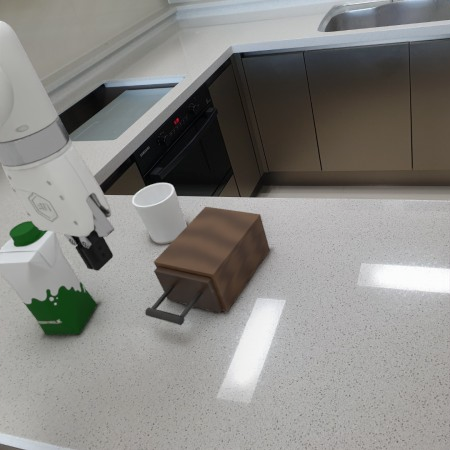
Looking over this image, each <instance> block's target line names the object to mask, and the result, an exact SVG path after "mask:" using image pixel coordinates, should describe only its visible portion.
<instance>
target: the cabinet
mask: <svg viewBox="0 0 450 450" xmlns="http://www.w3.org/2000/svg"><path fill="white" fill-rule="evenodd" d="M270 251H271V249H270V246H269V242H268V238H267V234H266V231H265V227H264V223H263V219H262V215H261V214H260V213H254V212H247V211H240V210H232V209H226V208H218V207H213V206H211V207H210V206H205V207H203V209H202V210H201V211H200V212H198V214H197V215H196V216H195V217H194V218H193V219H192V220H191V221H190V222H189V223H188V224H187V227H186V228H185V229H184V230H183V231H182V232H181V233H180V234H179V235H178V236H177V238H176V239H175V240H174V241H173V242H171V243H169V245H168V246H167V247H166V248H165V249H164V250H163V251H162V252H161V253H160V255H158V256H157V258H156V259H154V261H153V264H154V265H155V269H156V268H157V267H158V266H159V267H163V268H168V269H169V268H171V269H175V270H180V271H184V272H189V273H194V274H198V275H203V276H207V277H211V278H212V281H213V283H214V286H215V288H216V291H217V294H218V296H219V299H220V301H221V304H222V306H223V309H222V310H221V311H222V312H229V311H230V309H231V308H232V307H233V305H234V303H235V302H236V300H237V299H238V297H239V296H240V294H241V293H242V292H243V290H244V289H245V288H246V286H247V285H248V283H249V282H250V280H251V279H252V277H253V276H254V274H255V273H256V271H258V269H259V267H260V266H261V264H262V263H263V261H264V260H265V258H266V257H267V256H268V254H269V253H270Z"/></svg>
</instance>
